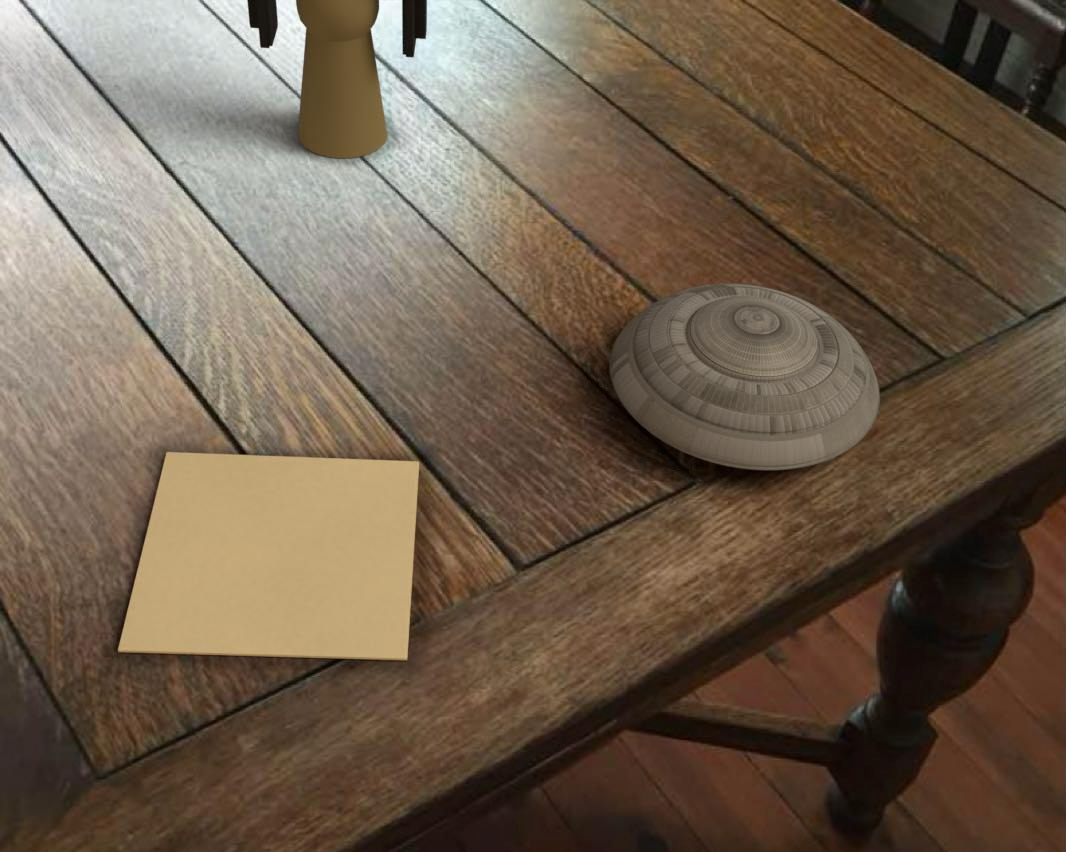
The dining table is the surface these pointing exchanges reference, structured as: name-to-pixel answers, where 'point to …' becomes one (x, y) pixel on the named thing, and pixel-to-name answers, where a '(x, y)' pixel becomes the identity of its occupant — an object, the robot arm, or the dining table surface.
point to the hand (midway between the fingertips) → (339, 41)
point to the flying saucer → (745, 377)
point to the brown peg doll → (340, 79)
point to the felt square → (277, 558)
